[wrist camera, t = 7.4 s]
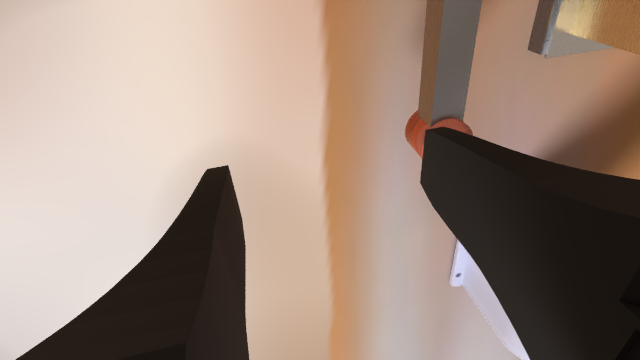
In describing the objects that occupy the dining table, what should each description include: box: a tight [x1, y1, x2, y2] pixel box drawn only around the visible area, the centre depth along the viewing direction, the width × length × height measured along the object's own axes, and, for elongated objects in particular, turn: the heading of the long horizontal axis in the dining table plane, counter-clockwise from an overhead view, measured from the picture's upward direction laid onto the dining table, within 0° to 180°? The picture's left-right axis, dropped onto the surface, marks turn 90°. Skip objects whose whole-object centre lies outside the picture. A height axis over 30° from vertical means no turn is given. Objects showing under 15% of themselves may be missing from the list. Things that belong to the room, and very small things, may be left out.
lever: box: [405, 0, 482, 159], centre depth 13 cm, size 13×3×2 cm, turn 4°
